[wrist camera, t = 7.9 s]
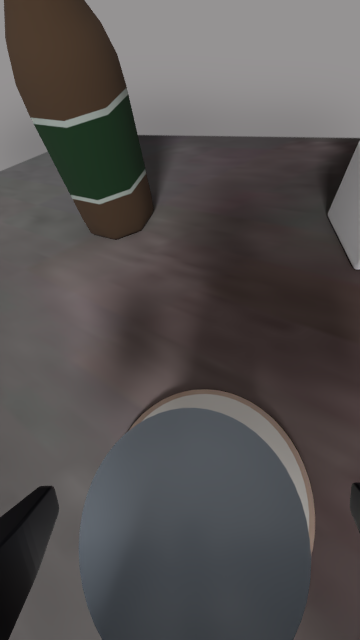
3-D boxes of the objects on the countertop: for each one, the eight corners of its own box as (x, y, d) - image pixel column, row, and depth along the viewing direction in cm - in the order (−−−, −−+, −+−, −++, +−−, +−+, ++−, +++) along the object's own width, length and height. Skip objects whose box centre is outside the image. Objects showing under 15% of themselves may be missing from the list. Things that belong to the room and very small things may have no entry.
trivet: (347, 627, 13) (358, 640, 12) (102, 642, 14) (93, 656, 13) (279, 382, 19) (283, 376, 18) (112, 400, 20) (106, 396, 19)
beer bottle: (92, 196, 32) (-136, -319, 11) (157, 190, 31) (42, -377, 10) (79, 244, 28) (-303, -401, 7) (153, 239, 27) (-42, -502, 7)
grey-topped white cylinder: (266, 518, 14) (369, 606, 5) (185, 567, 14) (121, 777, 4) (221, 431, 17) (230, 375, 7) (150, 470, 16) (57, 464, 7)
